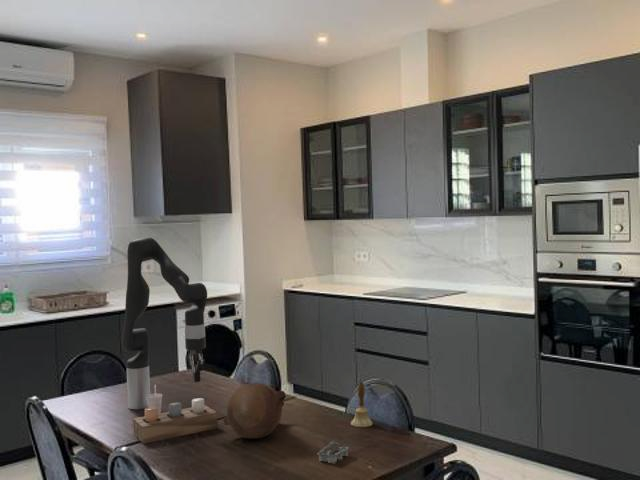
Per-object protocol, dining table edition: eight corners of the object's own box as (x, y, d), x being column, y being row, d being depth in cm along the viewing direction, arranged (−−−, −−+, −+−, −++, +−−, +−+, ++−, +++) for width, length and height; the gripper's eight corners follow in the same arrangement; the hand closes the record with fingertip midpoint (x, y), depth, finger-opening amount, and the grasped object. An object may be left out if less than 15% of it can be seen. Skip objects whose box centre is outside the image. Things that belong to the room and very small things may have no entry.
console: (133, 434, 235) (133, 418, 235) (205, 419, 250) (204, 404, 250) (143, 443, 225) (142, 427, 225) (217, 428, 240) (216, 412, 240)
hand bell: (375, 421, 241) (374, 379, 241) (368, 428, 234) (366, 385, 233) (355, 419, 245) (354, 378, 244) (347, 426, 237) (346, 383, 237)
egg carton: (334, 451, 213) (334, 439, 212) (352, 456, 208) (351, 443, 208) (314, 460, 205) (314, 448, 204) (332, 465, 200) (332, 453, 200)
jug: (261, 450, 215) (294, 436, 243) (274, 393, 216) (305, 385, 244) (210, 432, 222) (248, 421, 250) (223, 377, 223) (259, 372, 251)
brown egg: (143, 424, 233) (143, 408, 233) (156, 422, 236) (155, 406, 236) (147, 427, 229) (146, 411, 229) (159, 425, 232) (159, 408, 232)
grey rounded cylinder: (167, 419, 238) (166, 403, 238) (179, 417, 240) (178, 401, 240) (171, 422, 234) (171, 406, 234) (183, 420, 237) (183, 404, 236)
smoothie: (159, 422, 249) (157, 386, 248) (143, 421, 250) (142, 386, 250) (166, 417, 255) (164, 382, 255) (151, 416, 256) (150, 382, 256)
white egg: (190, 415, 243) (190, 399, 243) (202, 412, 245) (201, 397, 245) (194, 418, 239) (194, 402, 239) (206, 415, 241) (205, 400, 241)
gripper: (179, 335, 245) (181, 379, 245) (191, 339, 233) (193, 386, 234) (198, 332, 249) (200, 376, 249) (211, 337, 237) (212, 383, 238)
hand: (197, 381), depth 242 cm, fingers closed
